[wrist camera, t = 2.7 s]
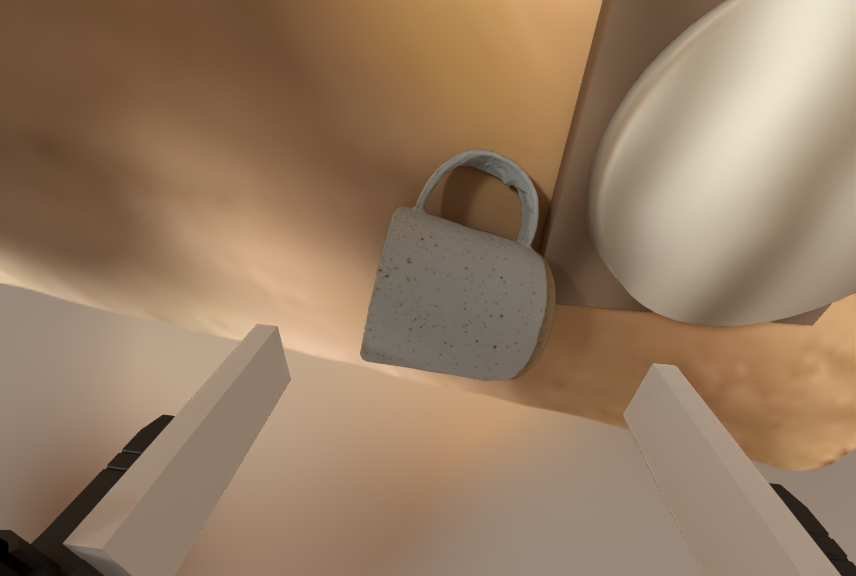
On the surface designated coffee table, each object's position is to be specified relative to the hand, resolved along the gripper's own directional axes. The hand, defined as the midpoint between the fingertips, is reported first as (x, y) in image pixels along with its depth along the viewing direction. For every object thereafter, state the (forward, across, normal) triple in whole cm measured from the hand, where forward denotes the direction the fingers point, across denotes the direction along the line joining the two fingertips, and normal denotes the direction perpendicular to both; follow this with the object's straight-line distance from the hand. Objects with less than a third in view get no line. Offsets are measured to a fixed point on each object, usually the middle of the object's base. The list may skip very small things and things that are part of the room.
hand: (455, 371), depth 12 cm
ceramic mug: (+9, 0, +1) cm, 9 cm away
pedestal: (+9, +12, +6) cm, 17 cm away
